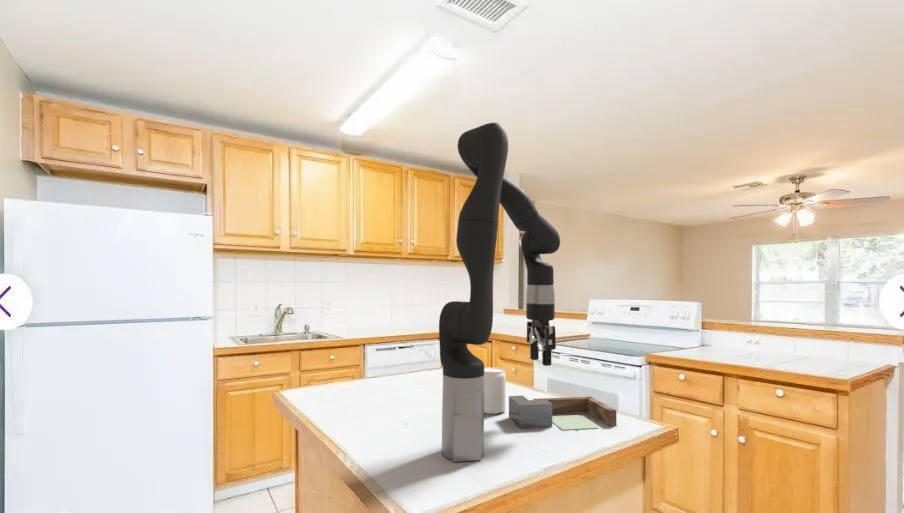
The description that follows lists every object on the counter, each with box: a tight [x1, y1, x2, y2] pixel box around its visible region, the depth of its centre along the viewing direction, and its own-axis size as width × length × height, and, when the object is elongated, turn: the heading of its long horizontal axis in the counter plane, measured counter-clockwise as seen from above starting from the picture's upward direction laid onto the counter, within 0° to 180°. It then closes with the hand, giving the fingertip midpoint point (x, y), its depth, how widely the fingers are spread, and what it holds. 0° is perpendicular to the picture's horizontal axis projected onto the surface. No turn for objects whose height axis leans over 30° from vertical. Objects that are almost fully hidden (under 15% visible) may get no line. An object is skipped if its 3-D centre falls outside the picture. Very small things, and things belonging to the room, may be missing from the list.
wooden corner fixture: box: [532, 396, 617, 427], centre depth 123 cm, size 14×18×4 cm
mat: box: [552, 414, 599, 431], centre depth 120 cm, size 11×10×1 cm
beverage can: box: [484, 366, 507, 415], centre depth 130 cm, size 8×8×12 cm
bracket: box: [508, 395, 553, 430], centre depth 120 cm, size 9×9×6 cm
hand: (540, 362), depth 119 cm, fingers open, 8 cm apart
